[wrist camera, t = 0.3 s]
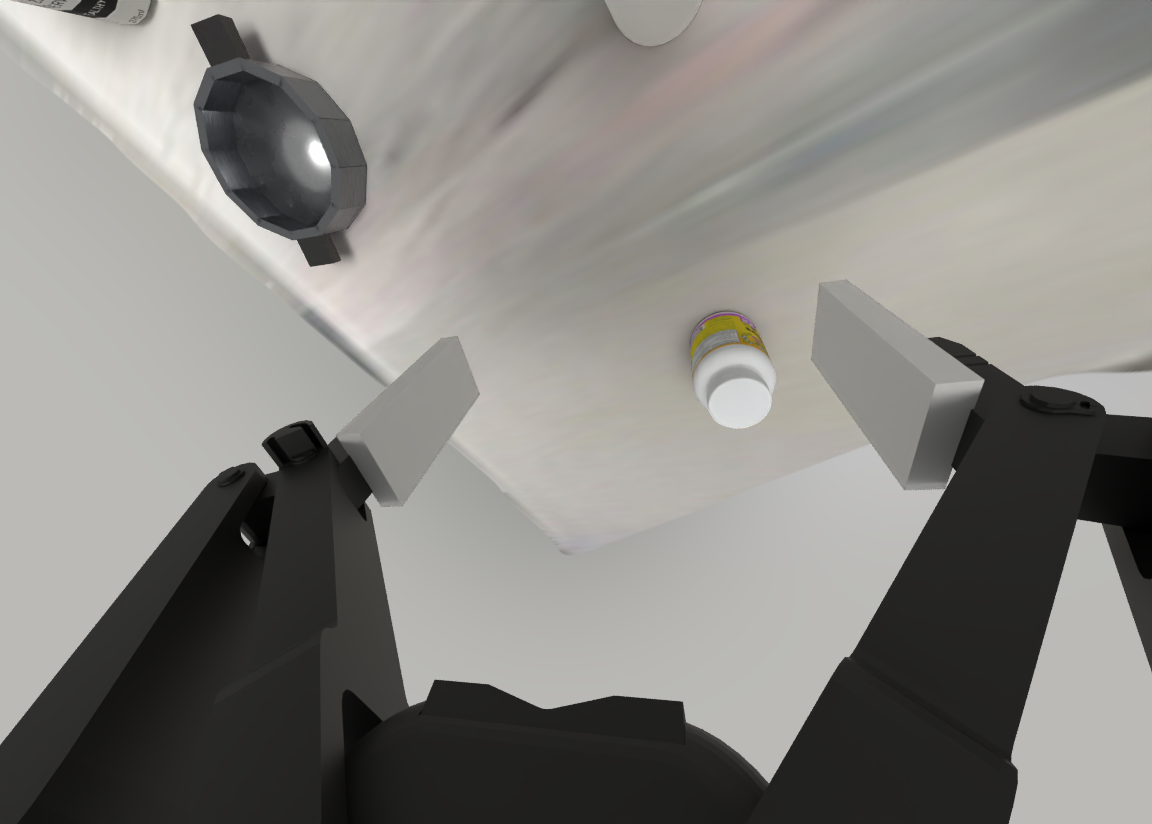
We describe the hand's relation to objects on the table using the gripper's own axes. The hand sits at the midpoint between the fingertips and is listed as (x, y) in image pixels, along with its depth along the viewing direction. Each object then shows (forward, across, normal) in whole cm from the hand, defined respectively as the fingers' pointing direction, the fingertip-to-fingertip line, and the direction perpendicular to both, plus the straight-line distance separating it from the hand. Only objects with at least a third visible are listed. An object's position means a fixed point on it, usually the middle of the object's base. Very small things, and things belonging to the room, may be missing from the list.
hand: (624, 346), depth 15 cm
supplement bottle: (+27, +7, -12) cm, 31 cm away
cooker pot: (+28, -32, +12) cm, 45 cm away
